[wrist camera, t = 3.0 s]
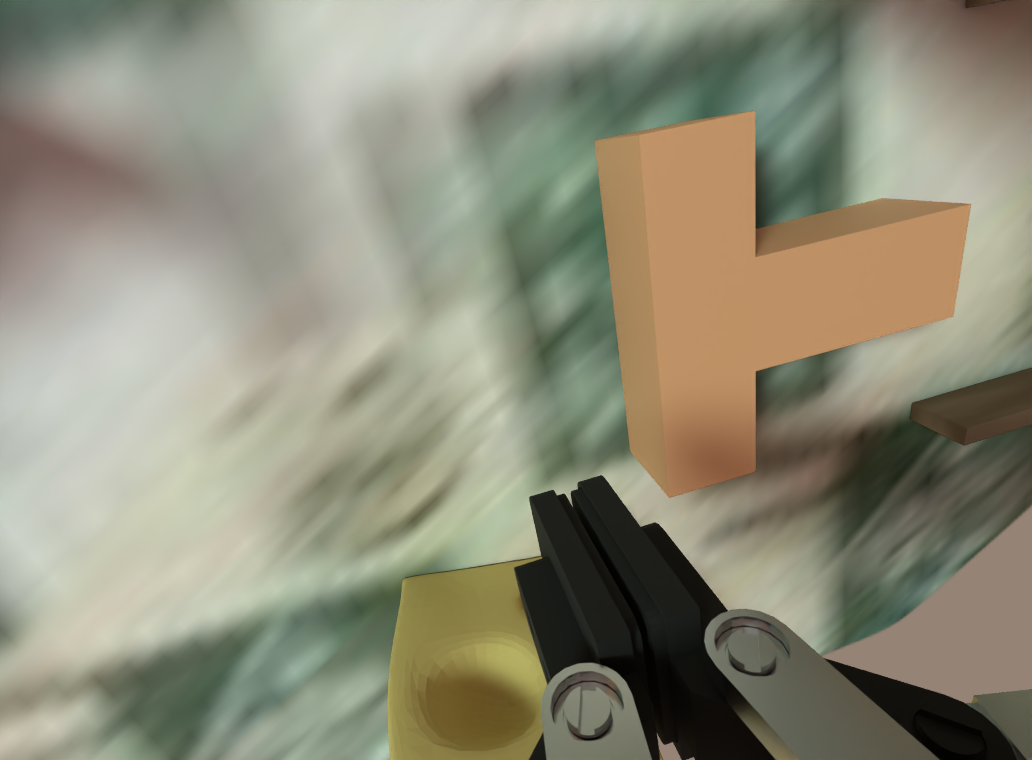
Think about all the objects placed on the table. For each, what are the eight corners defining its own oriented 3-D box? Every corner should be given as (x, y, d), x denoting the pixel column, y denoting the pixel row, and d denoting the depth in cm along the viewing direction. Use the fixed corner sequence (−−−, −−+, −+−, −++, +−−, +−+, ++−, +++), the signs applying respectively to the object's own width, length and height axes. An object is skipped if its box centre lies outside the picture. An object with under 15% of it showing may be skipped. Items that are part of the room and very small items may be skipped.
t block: (594, 140, 20) (639, 135, 16) (893, 78, 22) (993, 60, 18) (630, 451, 26) (669, 497, 22) (865, 383, 27) (937, 416, 24)
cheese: (594, 538, 27) (694, 722, 18) (587, 686, 31) (666, 896, 22) (387, 571, 25) (386, 795, 16) (408, 724, 29) (416, 972, 20)
